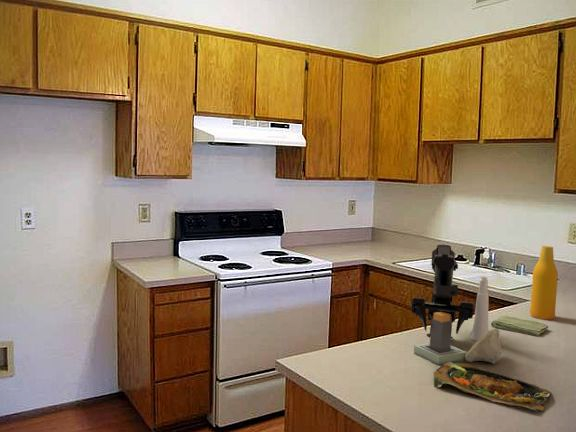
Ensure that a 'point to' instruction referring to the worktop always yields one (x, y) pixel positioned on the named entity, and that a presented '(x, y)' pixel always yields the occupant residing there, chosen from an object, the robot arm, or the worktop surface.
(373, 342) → the worktop surface
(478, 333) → the cosmetic bottle
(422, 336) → the worktop surface
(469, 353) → the cheese
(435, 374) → the prepared meal
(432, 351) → the box
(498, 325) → the washcloth
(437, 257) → the robot arm
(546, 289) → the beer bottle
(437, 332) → the plug
